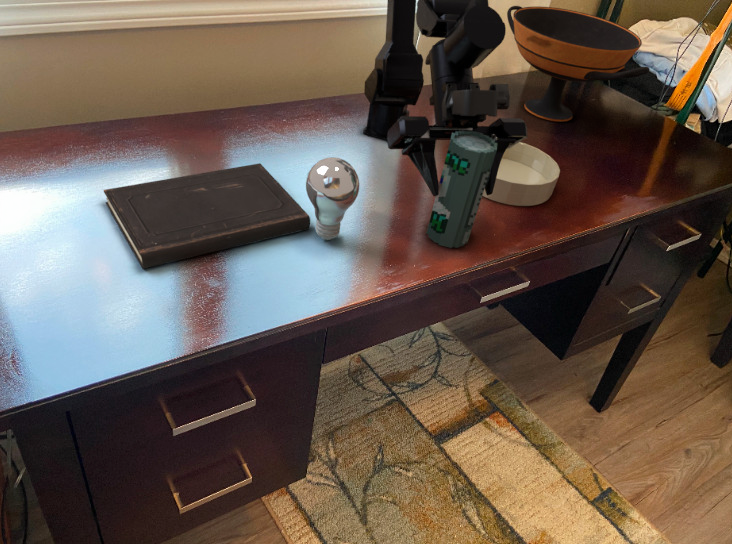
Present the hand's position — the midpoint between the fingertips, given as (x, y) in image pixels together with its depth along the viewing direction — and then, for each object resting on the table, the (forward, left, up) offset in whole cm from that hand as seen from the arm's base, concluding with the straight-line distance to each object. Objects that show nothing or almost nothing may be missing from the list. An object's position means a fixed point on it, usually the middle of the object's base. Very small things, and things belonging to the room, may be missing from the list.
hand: (463, 195), depth 83 cm
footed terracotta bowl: (+7, +60, -8) cm, 61 cm away
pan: (+4, +23, -8) cm, 25 cm away
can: (-1, +1, -8) cm, 8 cm away
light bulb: (-16, -9, -8) cm, 20 cm away
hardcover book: (-32, -13, -8) cm, 35 cm away
